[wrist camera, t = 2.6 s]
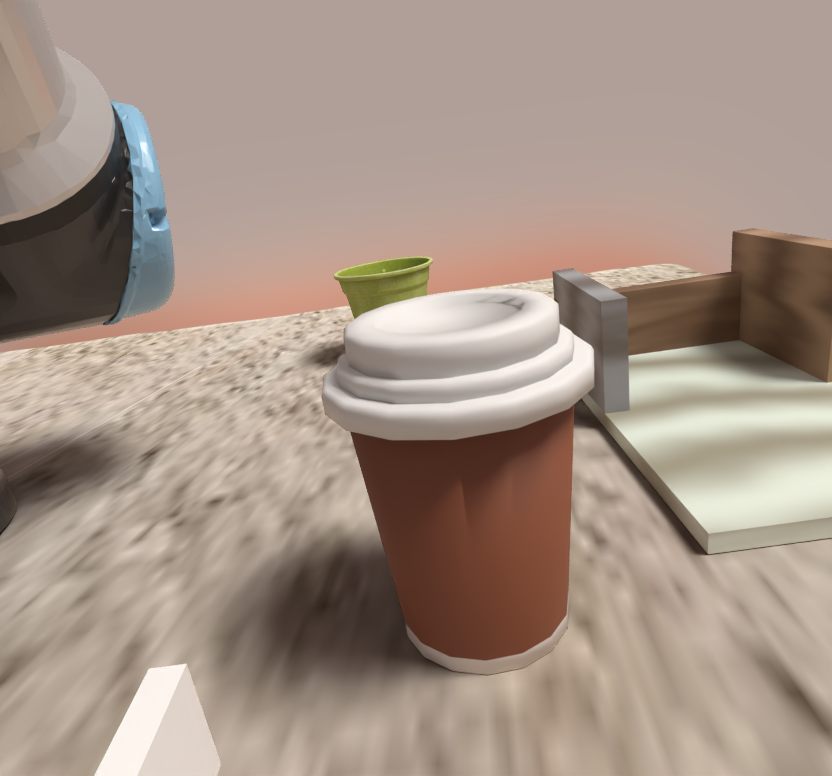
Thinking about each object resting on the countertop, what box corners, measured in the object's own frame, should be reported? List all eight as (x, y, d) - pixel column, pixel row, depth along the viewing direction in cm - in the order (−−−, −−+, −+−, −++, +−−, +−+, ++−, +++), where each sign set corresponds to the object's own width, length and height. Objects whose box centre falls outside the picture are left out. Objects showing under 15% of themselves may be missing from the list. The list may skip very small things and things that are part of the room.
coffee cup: (351, 713, 20) (270, 372, 16) (386, 548, 28) (340, 299, 24) (635, 702, 19) (627, 332, 15) (583, 534, 27) (568, 270, 23)
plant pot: (330, 367, 58) (313, 278, 55) (382, 339, 65) (369, 259, 62) (414, 371, 53) (399, 274, 50) (460, 340, 61) (449, 253, 58)
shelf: (1077, 504, 24) (1135, 285, 21) (708, 554, 25) (713, 345, 22) (747, 344, 47) (752, 228, 44) (558, 371, 48) (551, 257, 45)
